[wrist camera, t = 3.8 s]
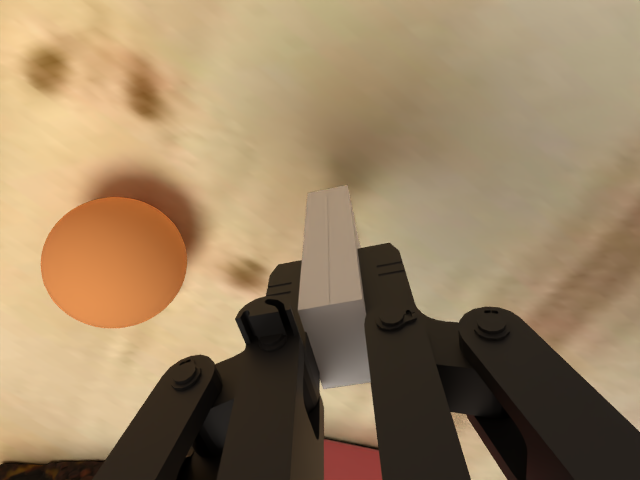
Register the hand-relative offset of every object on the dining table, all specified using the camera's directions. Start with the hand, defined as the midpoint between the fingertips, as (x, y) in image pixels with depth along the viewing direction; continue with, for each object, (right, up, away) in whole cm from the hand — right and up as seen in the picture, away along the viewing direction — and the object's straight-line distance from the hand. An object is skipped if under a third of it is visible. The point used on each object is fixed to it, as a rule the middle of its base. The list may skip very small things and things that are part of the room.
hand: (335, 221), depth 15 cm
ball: (-9, -2, +2) cm, 9 cm away
